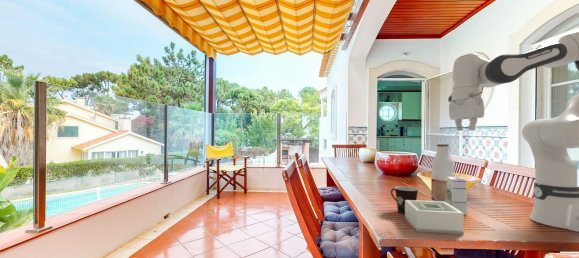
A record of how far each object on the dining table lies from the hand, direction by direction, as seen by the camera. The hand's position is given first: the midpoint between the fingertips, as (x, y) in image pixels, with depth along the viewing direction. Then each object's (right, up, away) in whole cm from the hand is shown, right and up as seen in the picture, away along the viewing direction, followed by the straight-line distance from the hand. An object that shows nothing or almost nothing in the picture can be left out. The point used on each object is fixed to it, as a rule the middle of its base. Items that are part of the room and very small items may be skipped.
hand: (465, 130), depth 106 cm
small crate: (-19, -33, -10) cm, 39 cm away
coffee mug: (-21, -34, +6) cm, 41 cm away
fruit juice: (0, -34, +16) cm, 38 cm away
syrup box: (0, -34, +5) cm, 35 cm away
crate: (-19, -34, -11) cm, 40 cm away
